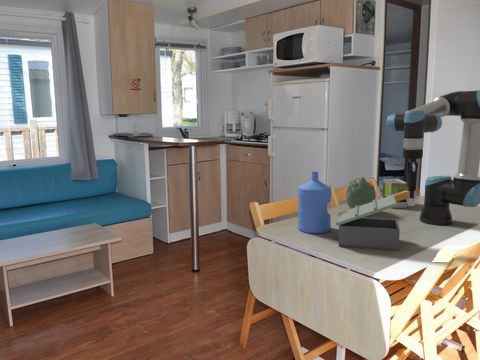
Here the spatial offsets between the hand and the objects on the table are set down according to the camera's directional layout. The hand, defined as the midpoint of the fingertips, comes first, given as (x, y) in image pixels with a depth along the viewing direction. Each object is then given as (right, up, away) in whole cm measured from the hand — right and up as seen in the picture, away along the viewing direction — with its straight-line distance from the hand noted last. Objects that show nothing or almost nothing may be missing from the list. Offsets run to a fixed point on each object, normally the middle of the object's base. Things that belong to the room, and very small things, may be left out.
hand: (410, 204), depth 178 cm
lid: (-13, -1, +4) cm, 13 cm away
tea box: (+20, -5, +74) cm, 77 cm away
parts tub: (-15, -17, +8) cm, 24 cm away
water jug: (-35, -14, +29) cm, 48 cm away
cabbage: (-5, -8, +58) cm, 59 cm away
